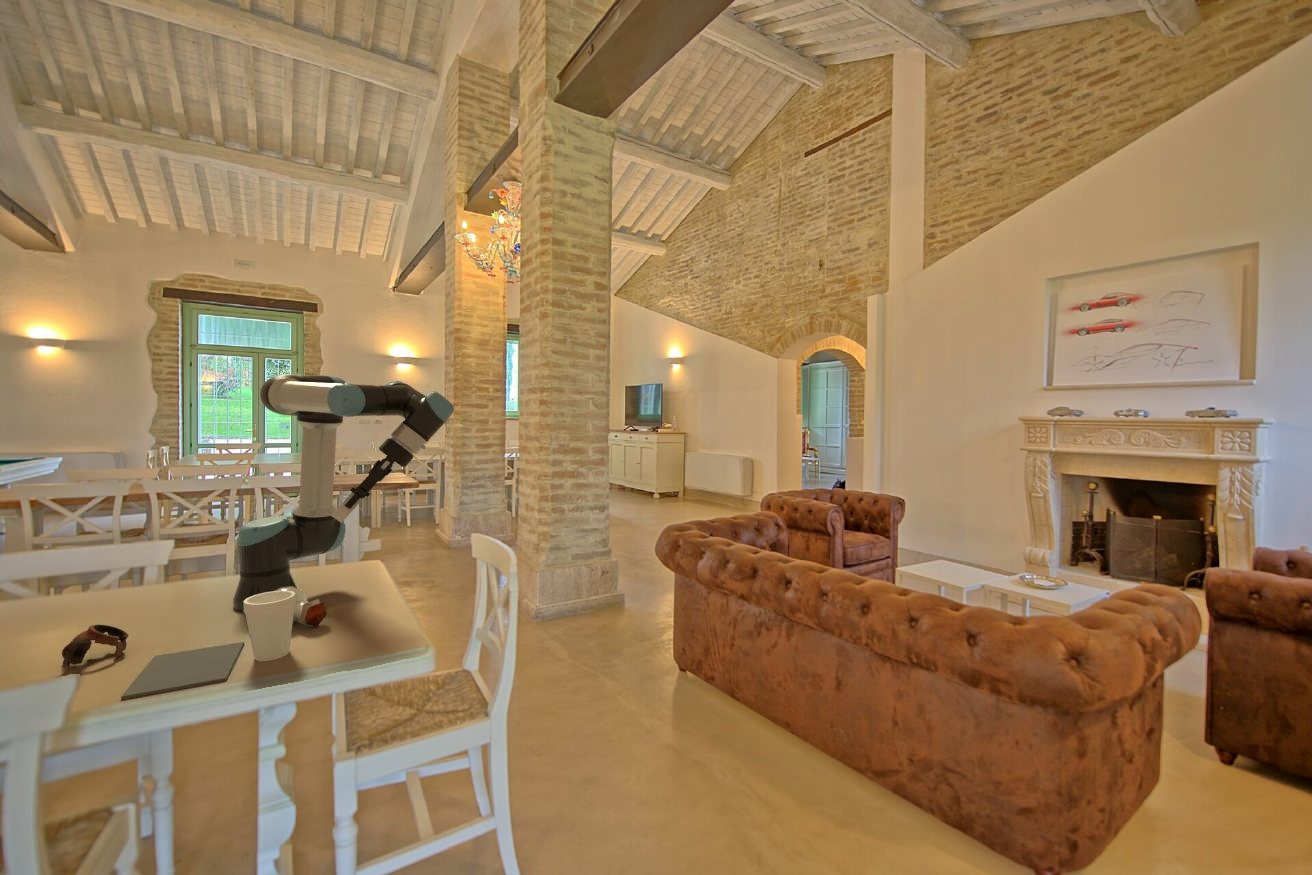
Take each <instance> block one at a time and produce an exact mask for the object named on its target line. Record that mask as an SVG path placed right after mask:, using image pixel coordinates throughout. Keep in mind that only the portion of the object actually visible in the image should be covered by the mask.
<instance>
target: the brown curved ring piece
mask: <svg viewBox="0 0 1312 875" xmlns="http://www.w3.org/2000/svg"><path fill="white" fill-rule="evenodd" d="M128 638H129V633H128V632H126V631H125V630H123V629H121V628H119V627H115V626H111V625H107V624H92V625H90V626H89V627H88V628H87V630H84V631H82V632H80V633H79V634H77V635H76V636H74V638H73V639H72V640H71V641H70V642H69V643H67V644H66V645H65V646H64V647H63V649H62V651H61V656H62V659H63V660H62V665H63V666H64V667H65V668H70V665H74V666H75V665H79V664H80V665H81V664H82V663H83V661H84V657H85V656H86V654H87V653H88V651H90V648H91V647H92V644H93V643H94V644H101V645H109V646H111V647H115V652H114V653H113V657H114V658H119V657H121V655H122V654H123V653H124V652H123V651H126V648H127V639H128ZM92 641H94V642H93V643H92Z"/></svg>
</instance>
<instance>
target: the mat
mask: <svg viewBox="0 0 1312 875" xmlns="http://www.w3.org/2000/svg"><path fill="white" fill-rule="evenodd" d="M244 646H245V641H241V642H234V643H229V644H228V643H227V644H221V645H216V646H215V645H214V646H210V647H209V646H208V647H203V648H195V649H191V650H189V649H188V650H183V651H176V652H172V653H164V654H159V655H154V656H153V657H152V659H151V660H150V661H149V662H148V664H147V665H146V666H144V668H143V670H141V672H140V673H139V674H138V675H137V677H136V678H135V679H134V680H133V682H132V683H131V684H130V685H129V686H128V687H127V689H126V690H125V691H124V692H123V693H122V694H121V696H120V700H126V699H134V698H137V697H138V698H139V697H143V696H149V695H155V694H160V693H165V692H166V693H167V692H171V691H176V690H181V689H189V688H193V687H199V686H203V685H211V684H215V683H221V682H227V681H228V678H229V676H230V674H231V672H232V670H233V668H234V666H235V664H236V663H237V660H238V658H239V656H240V654H241V651H242V649H243V648H244Z"/></svg>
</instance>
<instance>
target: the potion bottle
mask: <svg viewBox="0 0 1312 875" xmlns="http://www.w3.org/2000/svg"><path fill="white" fill-rule="evenodd" d="M285 590H286V591H293V592H294V593H295V596H296V604H295V606H294V615H293V624H294V623H296V622H297V623H298V624H299V623H300V624H302V625H303V626H304V625H305V626H307V627H313V628H318V627H319V625H320V624H321V623H322V622H323V621H324V619H325V618H326V617H327V616H328V611H327V608H326V604H325V602H321V601H320V598H316V599H313V600H311V601H309V600H308V599H309V597H308V596H307V594H306V593H305V592H304V591H303V590H301V589H300V588H298V587H297V588H295V587H293V586H291V587H281V588H279V589H277V590H276V591H285Z"/></svg>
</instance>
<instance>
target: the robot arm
mask: <svg viewBox="0 0 1312 875" xmlns="http://www.w3.org/2000/svg"><path fill="white" fill-rule="evenodd" d="M259 395H260V396H259V397H260V401H261V402H262V404H263V405H264V407H265V408H266V409H267V410H269V411H270V412H272V413H275V414H278V415H281V416H288V417H289V416H290V417H291V416H295V417H297V418H296V421H297V422H298V423H299V424H300V426H302V440H301V442H302V443H301V458H300V459H301V460H300V461H301V462H300V484H299V499H298V500H299V503H298V506H297V507H296V508H294V509H293V510H292V519H291V518H290V519H289V518H288V517H287V516H284V515H275V516H274V515H273V516H268V517H262V518H259V519H254V520H251V521H249V522H247V523H244V524H243V525H242V526H241V527H240V528H239V529H238V538H237V540H238V541H237V545H238V560H239V563H238V564H239V580H238V583H237V587H236V590H235V593H234V595H233V598H232V599H233V600H232V605H233V606H232V608H233V609H234V610H236V611H243V612H244V605H243V601H244V600H245V599H246V598H249V597H251V596H253V595H257V594H261V593H265V592H272V591H276V590H277V589H279V588H281V587H291V586H293V587H295V588H297V589H298V587H297V584H296V582H295V581H294V578H293V575H292V573H291V569H290V568H291V567H290V566H291V565H290V561H293V560H298V559H302V558H306V557H312V556H316V555H323V554H326V553H328V552H332V551H335V550H337V549H338V547H340V546H342V543H343V541H344V540H345V536H346V532H347V531H346V529H347V528H346V524H345V520H347V517H349V515H350V514H351V513H352V512H353V511H354V510H355V509H356V508H357V506H358V505H359V504H360V503H361V502H362V501H363V499H364V498H365V497H367V498H368V497H369V496H370V495H371V492H370V491H371V490H372V489H373V488H374V487H375V486H376V484H377V483H378V482H382V481H383V479H384V478H386V477H387V476H389V474H390V473H392V471H393V469H392V467H393V465H394V464H395V463H397V464H398V465H399V466H400V467H402V468H405V467H407V466H408V464H410V462H412V460H413V459H414V454H415V455H416V454H418V453H419V452H420V451H421V449H422V450H426V448H427V447H426V445H425V444H427V443H428V442H429V440H430V439H431V438H432V437H433V436H434V435H435V434H436V433H437V432H438V431H439V430H440V428H441V427H442V426H443V425H444V424H446V423H447V421H448V420H449V418H450V417H451V416H452V414H454V412H455V406H454V404H452V402H450V400H448V398H446V397H445V396H443V395H442V394H441V393H439V392H438V391H435V390H430V392H428V394H426V395H424V394H423V393H422V392H419V391H418V390H416V389H415V388H414V387H412V385H410V384H408V383H406V382H403V381H399V380H391V381H390V382H388V383H386V384H384V385H382V384H381V385H379V384H375V385H372V384H355V383H348V382H346V381H345V380H344V379H343V378H341V377H339V376H332V375H324V374H323V375H319V374H316V375H314V374H293V373H292V374H290V373H286V374H279V375H275V376H272V377H270V378H269V379H267V380H266V381H264V383H263V385H262V386H261V388H260V392H259ZM369 416H371V417H372V416H374V417H376V416H377V417H381V416H382V417H383V416H385V417H388V416H389V417H391V416H392V417H393V416H394V417H395V416H400V417H401V418H403V421H402V422H401V423H400V424H399V425H398V426H397V427H396V428H395V430H393V431H392V432H391V434H390V436H391V438H390V437H389V438H388V437H387V439H385V441H384V442H382V444H381V445H380V446H379V447H378V450H379V451H380V452H381V453H382V454H385V455H386V457H384V458H382V459H381V460H380V459H377V461H376V462H375V463H374V464H373V467H372V468H371V469H370V470H369V471H368V475H367V477H365V478H364V480H362V482H361V483H360V484H359V485H358V486H357V487H351V489H350V490H349V491H350V492H351V493H350V494H349V495H348V496H347V497H346V498H345V499H344V501H343V502H341V503H340V505H339V506H338V507H337V508H336V507H335V506H334V504H333V501H334V500H333V499H334V486H335V485H334V482H335V465H336V464H335V462H336V449H337V448H336V445H337V429H338V427H339V426H341V425H342V424H343V423H344V422H343V421H344V417H347V418H349V417H350V418H352V417H369Z"/></svg>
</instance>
